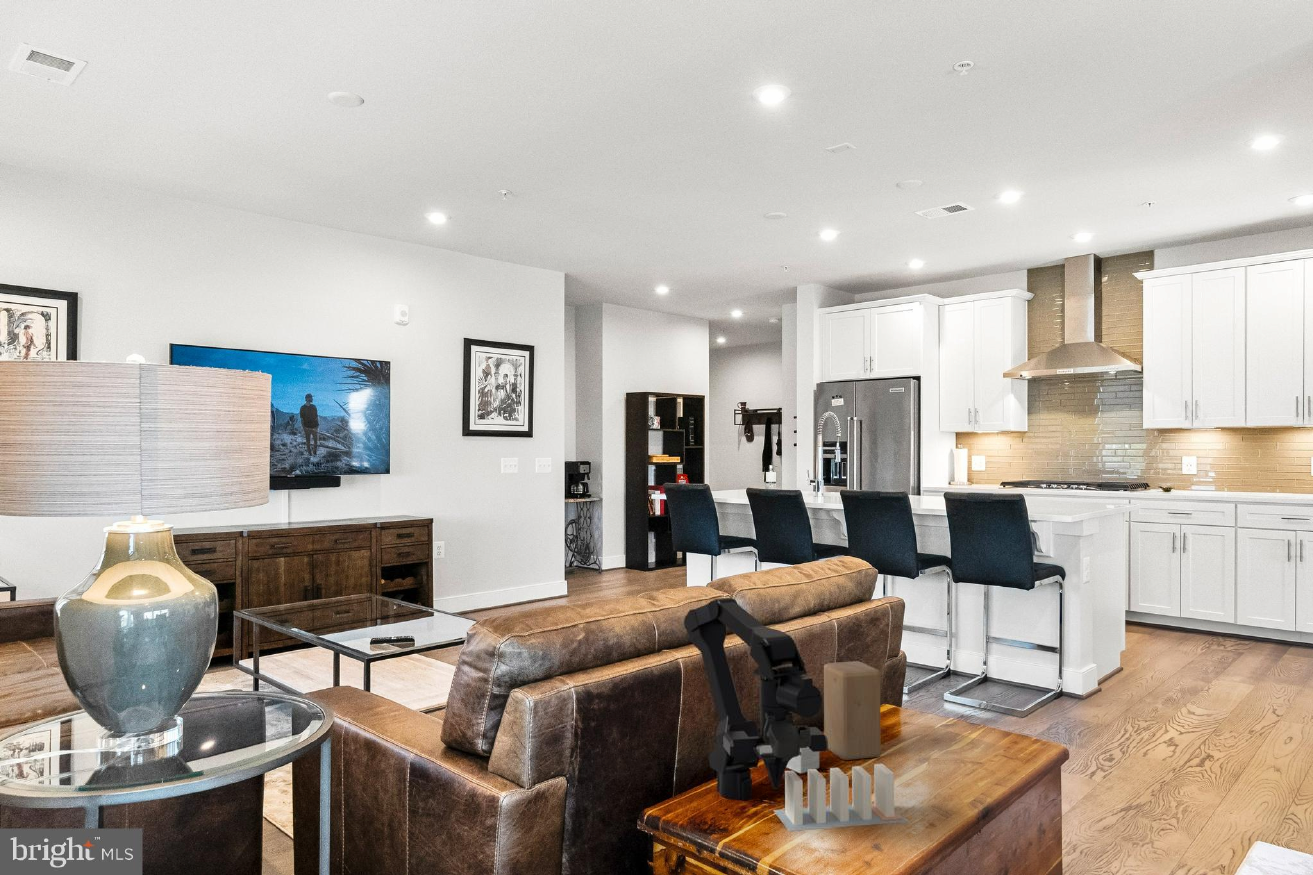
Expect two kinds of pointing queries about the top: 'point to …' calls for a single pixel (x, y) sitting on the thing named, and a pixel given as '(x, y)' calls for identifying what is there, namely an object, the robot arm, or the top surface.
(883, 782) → the end domino
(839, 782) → the domino
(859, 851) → the top surface
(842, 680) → the wooden block
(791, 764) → the skincare box
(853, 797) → the domino
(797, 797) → the domino
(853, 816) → the domino board
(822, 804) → the domino
